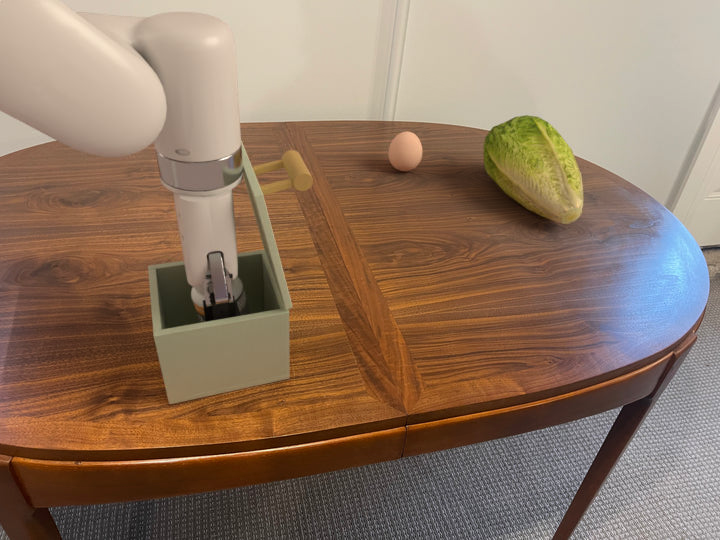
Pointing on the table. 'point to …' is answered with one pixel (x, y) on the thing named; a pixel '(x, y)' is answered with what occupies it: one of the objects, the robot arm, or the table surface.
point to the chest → (219, 333)
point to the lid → (297, 179)
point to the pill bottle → (199, 295)
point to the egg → (405, 151)
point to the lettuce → (535, 168)
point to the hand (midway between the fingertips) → (217, 305)
